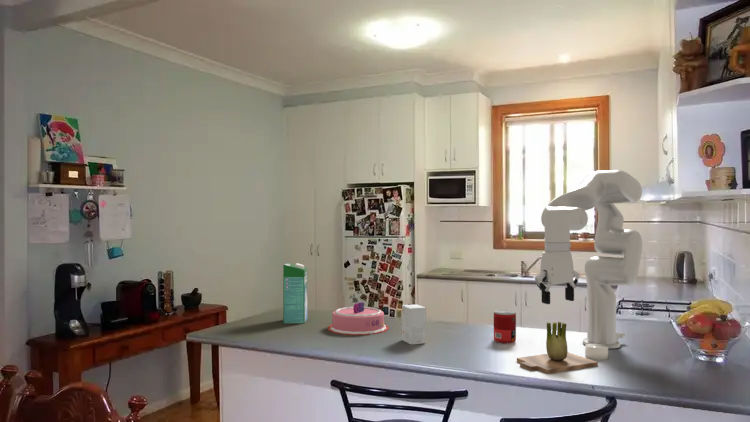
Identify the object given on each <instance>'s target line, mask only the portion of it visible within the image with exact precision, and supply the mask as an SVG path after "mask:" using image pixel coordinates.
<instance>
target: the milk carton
mask: <svg viewBox="0 0 750 422" xmlns="http://www.w3.org/2000/svg"><path fill="white" fill-rule="evenodd" d="M282 273H283V275H282V276H283V277H282V279H283V280H282V281H283V283H282V285H283V287H282V288H283V289H282V290H283V293H282V295H283V296H282V297H283V299H282V300H283V302H282V303H283V306H282V308H283V310H282V311H283V315H282V316H283V317H282V319H283V321H282V323H283V324H305V323H306V322H307V320H308V267H305V264H301V263H298V262H297V263H295V264H294V263H290V262H286V263H284V264H283V271H282Z"/></svg>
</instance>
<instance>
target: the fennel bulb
mask: <svg viewBox="0 0 750 422" xmlns="http://www.w3.org/2000/svg"><path fill="white" fill-rule="evenodd" d="M566 334H567V323H565V322H561V321H557V322H552V324H551V322H550V321H547V322H546V340H545V341H546V343H545V344H546V345H545V346H546V347H545V348H546V354H548V356H549V358H550V359H553V360H556V361H563V360H564V359H566V357H567V352H568V342H567V335H566ZM568 353H569V352H568Z"/></svg>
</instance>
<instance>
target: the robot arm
mask: <svg viewBox="0 0 750 422" xmlns="http://www.w3.org/2000/svg"><path fill="white" fill-rule="evenodd" d="M642 194H643V189H642V185H641V183H640V182H639V180H638V179H636V178H635V177H634V176H633V175H631V174H630V173H628V172H626V171H624V170H620V169H613V170H612V169H610V170H607V169H606V170H596V171H595V170H594V171H592V172H590V173H589V174H588V175H587V176H586V177H584V179H583V180H582V181H581V183H579V185H578V186H577V187H576V188H575V189H572V190H570V191H567V192H566V193H563V194H560V195H558V196H555V198H553V199H552V200H551V201H549V202H548V204H547V205H545V207H544V209H543V210H542V212H541V217H540V222H541V225H542V226H543V227H544V251H543V252H542V255H541V260H540V272H539V274H537V275H536V276H535V277H534V281H535V283H536V286H537V287H538V288H539V290H540V291H541V303H542V304H545V305H550V304H551V291H549V290H550V289H551V288H552V286H553V285H554V286H555V285H565V288H564V296H565V297H564V299H565V300H566V301H570V302H574V301H575V289H576V287H577V286H576V285H577V284H578V282H579V278H580V276H581V275H580V272H578V271H576V270H574V262H573V255H572V252H571V247H572V243H571V231H581V230H582V229H584V228H585V227H586V226H587V225H588V220H589V218H588V217H589V216H588V214H587V211H588V210H591V209H593V208H594V207H596V210H597V213H598V219H597V220H598V221H597V225H596V231H595V236H594V243H593V246H594V247H593V248H594V250H595V252H597V253H598V254H601V255H606V256H600V255H599V256H598V255H597V256H591V257H590V258H588V259H587V260H586V261H585V264H584V274H585V279H586V289H587V290H586V291H587V293H586V294H587V303H586V304H587V310H586V311H587V324H586V326H587V329H586V331H587V332H586V334H587V337H585V338H584V339H582V344H583V345H584V346H585V345H586V344H601V345H605V346H608V350H610V349H611V350H612V349H618V348H619V349H620V348H621V346H622V344H621V342H620V341H619V339H624V338H626V334H625V332H618V331H617V296H616V293H615V291H614V289H613V287H612V286H611V285H617V286H633V285H634V284H635V283H636V281H637V279H638V275H639V270H640V265H641V258H642V252H643V238H642V234H641V233H639V231H637V230H635V229H631V228H626V229H625V228H623V226H624V215H623V213H622V212H621V211H620V210H619V208H618V206H616V205H615V204H635V203H638V202H639V201H640V200H641V198H642ZM608 255H609V256H608ZM612 256H614V257H612ZM615 256H618V257H615ZM619 256H622V257H619Z"/></svg>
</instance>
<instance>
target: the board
mask: <svg viewBox="0 0 750 422" xmlns="http://www.w3.org/2000/svg"><path fill="white" fill-rule="evenodd" d="M516 363H519V367H521V368H523V369H525V370H528V371H531V372H532V371H540V372H542V373H545V374H549V375H550V374H555V373H562V372H567V371H574V370H579V369H580V370H582V369H586V368H591V367H598V365H599V362H598V361H596V360H594V359H590V358H587V357H585V356H584V357H583V356H580V355H578V354H574V353H570V352H567V357H566V359H564V360H563V361H556V360H553V359H550V358H549V356H548V354H547V353H544V354H536V355H529V356H523V357H517V358H516Z"/></svg>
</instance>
